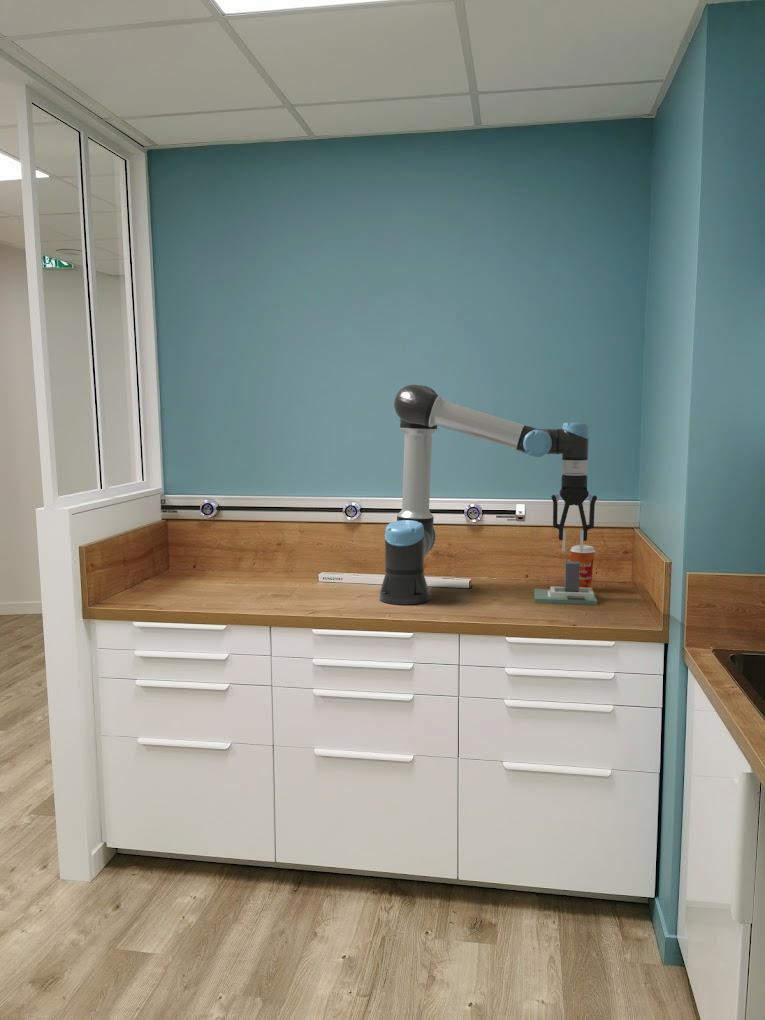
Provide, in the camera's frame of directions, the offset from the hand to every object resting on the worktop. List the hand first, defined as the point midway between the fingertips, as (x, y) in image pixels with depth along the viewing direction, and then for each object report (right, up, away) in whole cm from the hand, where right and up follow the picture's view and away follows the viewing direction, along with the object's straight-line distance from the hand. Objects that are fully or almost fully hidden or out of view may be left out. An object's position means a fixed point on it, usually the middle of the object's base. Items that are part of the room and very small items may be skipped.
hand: (572, 551), depth 246 cm
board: (-2, -15, +2) cm, 15 cm away
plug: (0, -13, +1) cm, 13 cm away
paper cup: (+6, -13, +14) cm, 20 cm away
